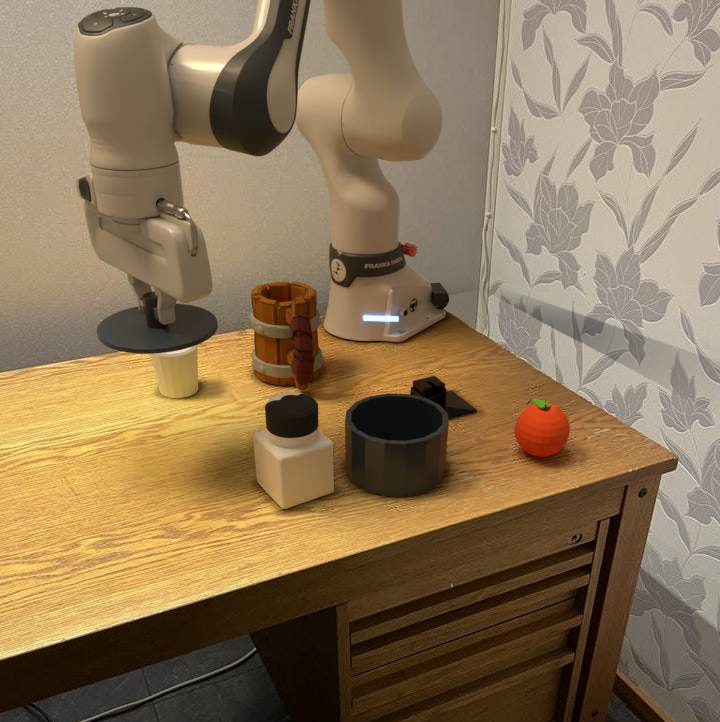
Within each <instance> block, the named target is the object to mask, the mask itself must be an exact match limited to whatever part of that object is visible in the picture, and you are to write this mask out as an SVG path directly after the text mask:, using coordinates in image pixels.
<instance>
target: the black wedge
mask: <svg viewBox="0 0 720 722" xmlns="http://www.w3.org/2000/svg"><path fill="white" fill-rule="evenodd" d="M409 394H410V395H415V396H419V397H424V398H427V399H429V400H431V401H433V402H435V403H437V404H439V405H440V406H441V407H442V408H443V409H444V410H445V411H446V412H447V414H448V421H449V420H453V419H458V418H461V417H465V416H469V415H473V414H477V413H478V409H477V408H475V407H474V406H473V405H472V404H470V403H469V402H468V401H466V400H465V399H463V398H462V397H461V396H460V395H458V394H457V393H456V392H454V391H453V390H448V389H447V388H446V383H445V382H443V381H442V380H441V379H440V378H438V377H437V376H435V375H431V376H428V377H423V378H419V379H415V380H412V386H411V387H410V392H409Z"/></svg>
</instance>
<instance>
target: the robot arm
mask: <svg viewBox="0 0 720 722" xmlns="http://www.w3.org/2000/svg"><path fill="white" fill-rule="evenodd" d="M311 1H312V0H258V1H257V6H256V11H255V16H254V21H253V27H252V31H251V33H250V35H249V36H248V37H246V39H244V40H243V41H240V42H238V43H236V44H231V45H214V44H213V45H212V44H197V43H193V42H184V41H183V40H182V39H179V38H177V37H175V36H173V35H171V34H169V32H167V31H165V30H164V29H163V28H161V26H160V25H159V24H158V21H157V18H156V16H155V14H154V13H153V12H152V11H150V10H149V9H145V8H143V7H139V6H137V7H136V6H120V7H115V8H109V9H108V8H105V9H101V10H97V11H94V12H92V13H91V12H90V14H88V15H86V16H84V17H82V18H81V20H80V21H79V22H78V23H77V25H76V27H75V31H74V32H75V33H74V40H73V58H74V59H73V60H74V73H75V81H76V82H75V83H76V88H77V90H76V91H77V95H78V101H79V107H80V114H81V117H82V120H83V123H84V125H85V127H86V129H87V132H88V135H89V136H88V137H89V143H90V144H89V145H90V147H89V159H88V160H89V166H90V171H89V172H88V173H86V174H84V175H80V176H78V177H76V179H75V186H76V191H77V195H78V197H79V198H80V199H82V200H83V201H84V202H83V211H84V217H85V221H86V225H87V226H86V227H87V231H88V234H89V239H90V242H91V246H92V249H93V250H94V251H93V252H94V253H95V254H96V256H97V258H98V260H100V261H102V262H104V263H106V264H108V265H110V266H111V267H114V268H116V269H117V270H119V271H121V272H123V273H125V274H126V275H127V281H128V283H129V286H130V287H131V290H132V292H133V294H134V296H135V298H136V303H137V306H138V309H139V311H141V312H142V313H144V314H145V309H144V302H143V295H144V294H145V293H148V292H153V290H154V291H155V295H156V296H158V302H157V306H155V307H153V308H154V313H155V319H156V320H157V321H158V322H160V323H161V324H163V325H166V324H170V323H173V322H174V321H175V319H176V318H175V309H174V307H175V304H177V301H178V302H180V303H182V304H187V303H191V302H195V301H198V300H203V299H205V298H208V297H209V296H210V295H211V293H212V290H213V277H212V272H211V265H210V264H211V263H210V259H209V253H208V249H207V243H206V239H205V236H204V234H203V231H202V229H201V228H200V226H199V225H198V223H196V222H195V220H193V219H192V217H191V215H190V212H189V210H188V209H187V208H185V202H184V201H185V199H184V191H183V183H182V174H181V163H180V157H179V152H178V149H177V147H176V144H175V143H176V142H177V143H185V144H189V145H193V146H201V147H208V148H209V147H210V148H219V149H226V150H227V151H231V152H236V153H241V154H244V155H249V156H252V157H264V156H267V155H268V154H270V153H272V152H273V151H274V150H275V149H277V148H278V147H279V146H280V145H281V144H282V143H283V142H284V141H285V139H286V138H287V137H288V136H289V135H290V134H291V131H292V129H293V127H294V125H295V124H296V127H297V129H298V131H299V133H300V134H301V136H302V137H303V138H304V140H306V142H307V143H308V144H309V146H310V147H311V148H312V151H313V152H314V154H315V156H316V158H317V160H318V163H319V165H320V168H321V171H322V174H323V176H324V180H325V184H326V187H327V191H328V197H329V205H330V207H329V209H330V226H331V227H330V228H331V231H330V232H331V242H330V243H329V247H328V266H329V272H330V284H329V291H328V301H327V305H326V312H325V316H324V320H323V324H322V325H323V328H324V330H325V331H326V332H328V334H330V335H333V336H335V337H338V338H341V339H345V340H350V341H358V342H375V341H382V342H391V343H402V342H404V341H405V340H408V339H410V338H411V337H413V336H415V335H416V334H418V333H421V332H422V331H423V330H426V329H427V328H429V327H430V326H432V325H434V324H436V323H437V322H439V321H441V320H443V319H444V318H446V317H447V314H446V313H447V311H446V310H445V308H446V307H447V306H448V305H449V302H450V296H449V292H448V291H447V290H446V289H445V287H444V286H443V285H442V284H441V282H430V281H429V280H428V279H427V278H426V277H424V276H423V275H422V274H420V272H418V271H416V270H415V269H414V268H413V267H411V266H410V265H409V264H408V263H407V260H406V257H405V256H408V257H410V258H414V257H415V256H416V255H417V254H418V246H417V245H416V244H411V243H410V242H405V243H404V244H402V242H400V213H401V211H400V209H401V208H400V207H401V201H400V195H399V193H398V191H397V190H396V188H395V187H394V186H393V185H392V184H391V182H390V181H389V180H388V179H387V177H386V176H385V174H384V173H383V171H382V168H381V165H380V164H379V160H381V161H387V162H392V163H397V162H399V163H401V162H412V161H413V162H414V161H420V160H423V159H426V158H427V157H428V156H429V155H430V154H431V153H432V152H433V151H434V150H435V147H436V146H437V145H438V143H439V140H440V138H441V136H442V133H443V125H444V124H443V123H444V115H443V109H442V105H441V103H440V100H439V99H438V98H439V97H438V96H437V95H436V94H435V93H434V92H433V91H432V90H431V88H430V87H429V86H428V85H427V84H426V83H425V81H424V80H423V78H422V77H421V75H420V73H419V71H418V70H417V67H416V64H415V62H414V60H413V57H412V54H411V51H410V49H409V45H408V42H407V37H406V33H405V26H404V15H403V0H322V11H323V25H324V26H323V27H324V30H325V33H326V35H327V37H328V39H329V40H330V41H331V42H332V44H334V45H335V46H336V47H337V48H338V49H339V51H340V52H341V53H342V55H343V56H344V58H345V60H346V62H347V65H348V67H349V71H350V73H351V74H349V73H343V72H332V73H326V74H321V75H317V76H316V75H315V76H313V77H310V78H307V79H306V81H304V82H303V84H302V85H301V86H300V88H299V72H300V64H301V58H302V53H303V47H304V42H305V41H304V40H305V36H306V30H307V24H308V19H309V12H310V8H311ZM152 288H153V290H152Z"/></svg>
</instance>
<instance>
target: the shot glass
mask: <svg viewBox="0 0 720 722" xmlns="http://www.w3.org/2000/svg"><path fill="white" fill-rule="evenodd" d="M149 355H150V358H151V362H152V366H153V370H154V374H155V379H156V382H157V385H158V390H159V393H160V394H161V395H162V396H163V397H166V398H168V399H183V398H187V397H190V396H192V395H195V394H196V393H197V392H198V391H199V363H198V345H196V346H193V347H190V348H186V349H183V350H178V351H173V352H166V353H155V354H149Z"/></svg>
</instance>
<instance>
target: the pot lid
mask: <svg viewBox="0 0 720 722" xmlns="http://www.w3.org/2000/svg"><path fill="white" fill-rule="evenodd" d="M143 302H144V309H145V314H144V313H142V312H141V311H139V309H138V305H137V306H134V307H128V308H126V309H123V310H120V311H118V312H115V313H112V314H111V315H108V316H107V317H106V318H104V319H103V320H102V321H101V322H100V323H99V324H98V325H97V328H96V334H97V339H98V341H99V342H100V343H101V344H102V345H104V346H105V347H107V348H109V349H110V350H115V351H117V352H123V353H129V354H139V355H140V354H141V355H150V354H155V353H166V352H173V351H178V350H183V349H186V348H190V347H193V346H196V345H197V346H198V345H200V344H202V343H204V342H206V341H208V340H209V339H211V338H212V337H213V336H214V335H215V334H216V332H217V331H218V327H219V323H218V319H217V317H216V316H215V314H214V313H213V312H211V311H209V310H208V309H206V308H204V307H199V306H196V305H193V304H187V303H176V304H175V307H174V309H175V318H176V319H175V321H174V322H173V323H170V324H166V325H163V324H161V323H160V322H158V321H157V320H156V319H155V313H154V308H153V307H155V306H157V302H158V296H156V295H155V290H154V291H152V292H148V293H145V294H144V295H143Z"/></svg>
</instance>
